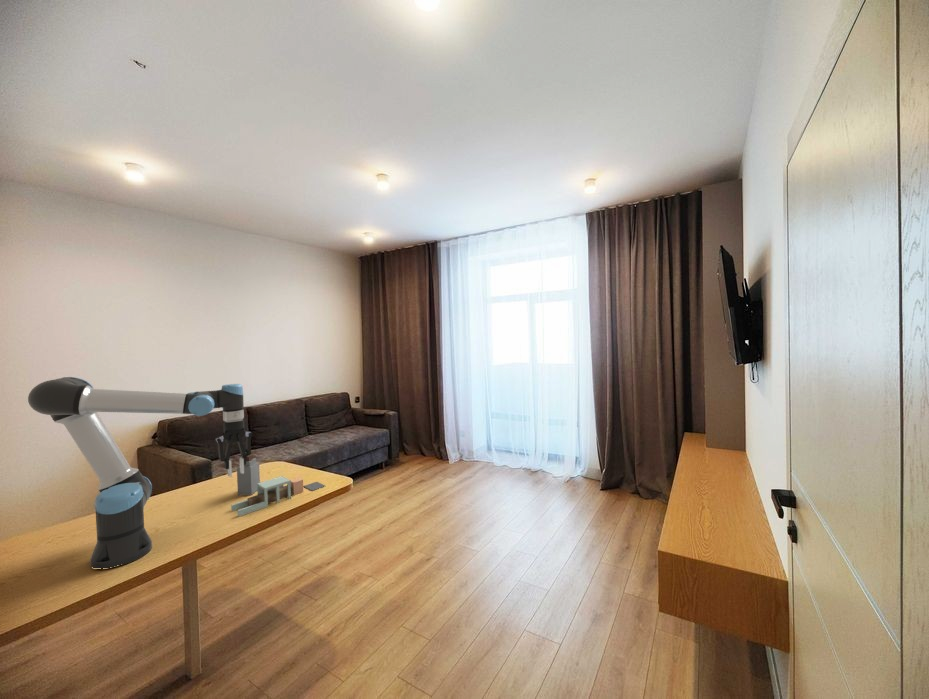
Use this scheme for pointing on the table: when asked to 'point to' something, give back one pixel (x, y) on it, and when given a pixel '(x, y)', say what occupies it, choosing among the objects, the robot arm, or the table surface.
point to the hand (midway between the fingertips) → (236, 474)
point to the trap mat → (314, 486)
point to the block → (297, 485)
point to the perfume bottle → (248, 477)
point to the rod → (269, 496)
